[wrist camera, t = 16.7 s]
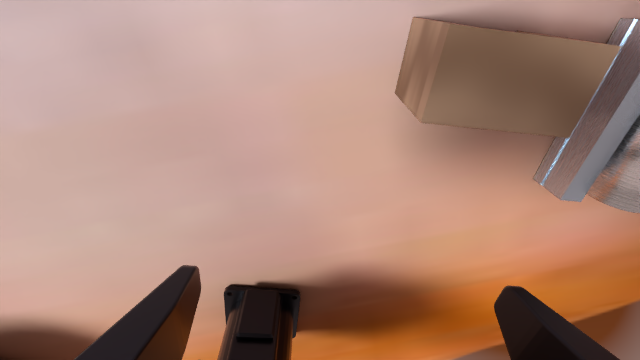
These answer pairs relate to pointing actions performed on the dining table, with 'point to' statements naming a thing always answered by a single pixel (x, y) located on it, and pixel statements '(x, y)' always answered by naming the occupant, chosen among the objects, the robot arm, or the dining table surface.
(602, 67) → the brown boxy piece
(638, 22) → the cradle
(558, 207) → the dining table surface
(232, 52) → the dining table surface
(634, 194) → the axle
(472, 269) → the dining table surface
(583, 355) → the robot arm
